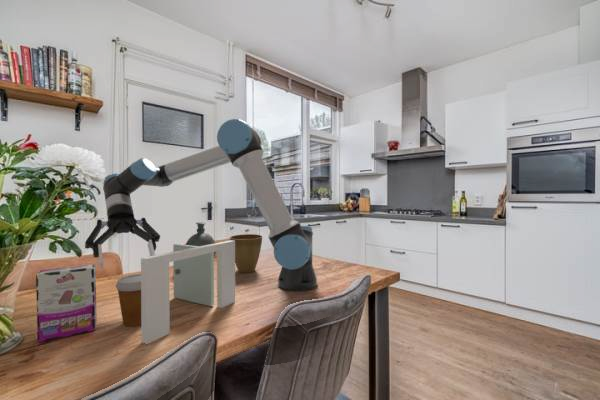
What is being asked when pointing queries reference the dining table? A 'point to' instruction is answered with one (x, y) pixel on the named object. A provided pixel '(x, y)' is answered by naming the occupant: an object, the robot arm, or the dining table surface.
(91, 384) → the dining table surface
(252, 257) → the plant pot
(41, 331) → the candy bar box
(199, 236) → the flask
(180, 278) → the door
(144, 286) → the door frame
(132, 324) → the disposable coffee cup
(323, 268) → the dining table surface
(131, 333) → the dining table surface
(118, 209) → the robot arm
